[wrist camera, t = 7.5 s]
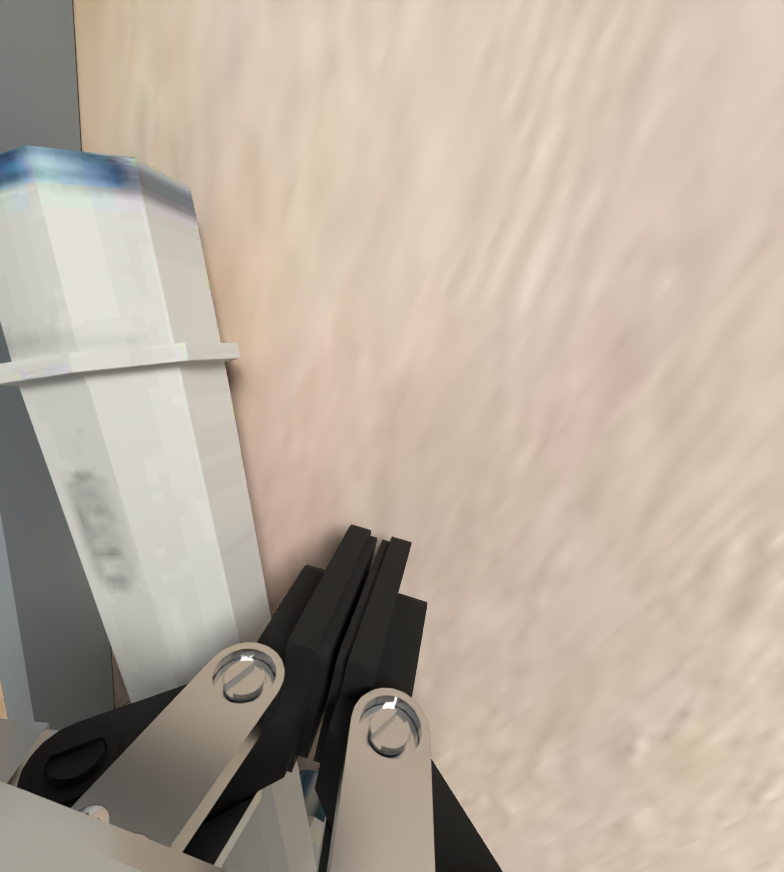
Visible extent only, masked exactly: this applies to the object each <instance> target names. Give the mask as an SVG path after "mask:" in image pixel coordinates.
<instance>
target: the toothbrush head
mask: <svg viewBox="0 0 784 872" xmlns="http://www.w3.org/2000/svg"><path fill="white" fill-rule="evenodd" d="M0 322H1V326H2V329H3V333H4V336H5V340H6V343H7V347H8V350H9V354H10V357H11V361H12V362H7V363H2V364H0V386H10V387H16V386H19V388H20V391H21V394H22V396H23V399H24V402H25V405H26V408H27V410H28V413H29V416H30V419H31V422H32V425H33V427H34V430H35V433H36V436H37V439H38V441H39V444H40V447H41V450H42V453H43V456H44V458H45V461H46V464H47V467H48V470H49V472H50V475H51V478H52V481H53V484H54V487H55V489H56V492H57V495H58V498H59V501H60V503H61V506H62V509H63V512H64V515H65V518H66V520H67V523H68V526H69V529H70V532H71V534H72V537H73V540H74V543H75V546H76V549H77V551H78V554H79V557H80V560H81V563H82V565H83V568H84V571H85V574H86V577H87V580H88V582H89V585H90V588H91V591H92V594H93V596H94V599H95V602H96V605H97V608H98V611H99V613H100V616H101V619H102V622H103V625H104V627H105V630H106V633H107V636H108V639H109V642H110V644H111V647H112V650H113V653H114V656H115V658H116V661H117V664H118V667H119V670H120V673H121V675H122V678H123V681H124V684H125V687H126V689H127V692H128V695H129V698H130V701H131V703H134V702H137V701H139V700H142V699H145V698H148V697H151V696H154V695H157V694H160V693H162V692H165V691H168V690H171V689H174V688H177V687H180V686H183V685H186V684H188V683H190V682H191V680H192V679H193V678H194V677H195V676H196V675H197V674H198V673H199V672H200V671H201V670H202V669H203V668H204V667H205V666H206V665H207V664H208V663H209V661H210V660H211V659H212V658H213V657H214V656H216V655H217V654H218V653H219V652H221V651H222V650H223V649H226V648H228V647H230V646H232V645H234V644H239V643H245V642H251V643H256V642H257V641H258V639H259V638H260V636H261V634H262V633H263V631H264V630H265V628H266V627H267V625H268V623H269V622H270V620H271V614H270V609H269V603H268V598H267V592H266V587H265V581H264V576H263V570H262V565H261V559H260V554H259V548H258V543H257V537H256V532H255V526H254V521H253V515H252V510H251V504H250V499H249V493H248V488H247V482H246V477H245V471H244V466H243V460H242V455H241V449H240V444H239V438H238V433H237V427H236V422H235V416H234V411H233V405H232V400H231V394H230V389H229V383H228V378H227V372H226V367H225V363H226V362H229V361H232V360H235V359H239V358H240V353H239V347H238V343H221V341H220V336H219V331H218V326H217V321H216V316H215V310H214V305H213V300H212V295H211V290H210V285H209V280H208V275H207V270H206V265H205V260H204V255H203V250H202V245H201V240H200V235H199V230H198V224H197V219H196V214H195V209H194V204H193V199H192V194H191V189H190V187H188V186H186V185H184V184H182V183H181V182H179V181H177V180H175V179H173V178H171V177H169V176H168V175H166V174H164V173H162V172H160V171H158V170H157V169H155V168H153V167H151V166H149V165H147V164H145V163H144V162H142V161H140V160H138V159H136V158H134V157H125V156H117V155H108V154H99V153H90V152H82V151H73V150H64V149H55V148H47V147H38V146H29V145H25V146H22V147H19V148H16V149H13V150H10V151H6V152H3V153H0ZM317 776H318V771H310V770H302V771H300V772H299V769H298V763H297V761H296V763H295V766H294V768H293V771H292V773H291V772H288V771H287V772H286V775H285V777H284V778H282V779H280V780H279V781H277V782H275V783H273V784H271V785H269V786H267V787H266V788H265V790H264V793H263V795H262V798H261V800H260V801H259V803H258V805H257V807H256V808H255V810H254V812H253V814H252V815H251V817H250V819H249V820H248V822H247V824H246V826H245V827H244V829H243V831H242V832H241V834H240V836H239V838H238V839H237V841H236V843H235V844H234V846H233V848H232V850H231V851H230V853H229V855H228V856H227V858H226V860H225V862H224V863H223V865H222V867H221V868H222V869H224V870H227V871H229V872H316V869H317V862H318V856H319V850H320V844H321V837H322V831H323V825H324V821H325V817H326V816H325V813H324V811H323V808H322V806H321V803H320V801H319V798H318V796H317V793H316V791H315V784H316V780H317Z"/></svg>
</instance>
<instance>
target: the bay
mask: <svg viewBox="0 0 784 872" xmlns="http://www.w3.org/2000/svg"><path fill="white" fill-rule="evenodd" d="M25 145H29V146H38V147H47V148H55V149H64V150H73V151H81V141H80V124H79V107H78V90H77V73H76V57H75V40H74V23H73V6H72V0H0V153H3V152H6V151H10V150H13V149H16V148H19V147H22V146H25ZM7 362H12V361H11V357H10V354H9V350H8V347H7V343H6V340H5V336H4V333H3V329H2V326H1V322H0V364H2V363H7ZM0 680H1V685H2V690H3V695H4V701H5V706H6V711H7V716H8V719H10V720H21V721H32V722H43V723H49V729H50V730H61V729H63V728H66V727H68V726H70V725H72V724H74V723H76V722H79V721H82V720H85V719H88V718H91V717H93V716H96V715H99V714H102V713H105V712H108V711H111V710H114V697H113V680H112V663H111V646H110V642H109V639H108V636H107V633H106V630H105V627H104V625H103V622H102V619H101V616H100V613H99V611H98V608H97V605H96V602H95V599H94V596H93V594H92V591H91V588H90V585H89V582H88V580H87V577H86V574H85V571H84V568H83V565H82V563H81V560H80V557H79V554H78V551H77V549H76V546H75V543H74V540H73V537H72V534H71V532H70V529H69V526H68V523H67V520H66V518H65V515H64V512H63V509H62V506H61V503H60V501H59V498H58V495H57V492H56V489H55V487H54V484H53V481H52V478H51V475H50V472H49V470H48V467H47V464H46V461H45V458H44V456H43V453H42V450H41V447H40V444H39V441H38V439H37V436H36V433H35V430H34V427H33V425H32V422H31V419H30V416H29V413H28V410H27V408H26V405H25V402H24V399H23V396H22V394H21V391H20V388H19V386H16V387H10V386H0Z"/></svg>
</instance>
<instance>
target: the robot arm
mask: <svg viewBox="0 0 784 872" xmlns="http://www.w3.org/2000/svg"><path fill="white" fill-rule="evenodd" d="M370 535H371V530H369V529H365V528H362V527H359V526H355V525H352V524H351V525H350V527H349V529H348V530H347V532H346V534H345V536H344V538H343V540H342V541H341V543H340V545H339V547H338V549H337V551H336V553H335V554H334V556H333V558H332V560H331V562H330V564H329V565H328V567H327V569H326V570H323V569H319V568H316V567H313V566H310V565H306V566H305V567H304V568H303V569H302V571H301V572H300V574H299V576H298V577H297V579H296V580H295V582H294V584H293V585H292V587H291V588H290V590H289V592H288V593H287V595H286V596H285V598H284V599H283V601H282V603H281V604H280V606H279V607H278V609H277V611H276V612H275V614H274V615H273V617H272V619H271V620H270V622H269V623H268V625H267V627H266V628H265V630H264V631H263V633H262V634H261V636H260V638H259V639H258V641H257V642H256V643H251V642H245V643H239V644H234V645H232V646H230V647H228V648H226V649H223V650H222V651H221V652H219V653H218V654H217V655H216V656H214V657H213V658H212V659H211V660H210V661H209V663H208V664H207V665H206V666H205V667H204V668H203V669H202V670H201V671H200V672H199V673H198V674H197V675H196V676H195V677H194V678H193V679H192V680H191V682H190V683H188V684H186V685H183V686H180V687H177V688H174V689H171V690H168V691H165V692H162V693H160V694H157V695H154V696H151V697H148V698H145V699H142V700H139V701H137V702H134V703H131V704H128V705H125V706H122V707H119V708H116V709H114V710H111V711H108V712H105V713H102V714H99V715H96V716H93V717H91V718H88V719H85V720H82V721H79V722H76V723H74V724H72V725H70V726H68V727H66V728H63V729H61V730H50V729H49V723H43V722H32V721H21V720H10V719H0V872H229V871H227V870H224V869H222V868H221V867H222V865H223V863H224V862H225V860H226V858H227V856H228V855H229V853H230V851H231V850H232V848H233V846H234V844H235V843H236V841H237V839H238V838H239V836H240V834H241V832H242V831H243V829H244V827H245V826H246V824H247V822H248V820H249V819H250V817H251V815H252V814H253V812H254V810H255V808H256V807H257V805H258V803H259V801H260V800H261V798H262V795H263V793H264V790H265V788H266V787H267V786H269V785H271V784H273V783H275V782H277V781H279V780H280V779H282V778H284V777H285V775H286V772H287V771H288V772H291V773H292V771H293V768H294V766H295V763H296V761H297V758H298V755H299V756H302V757H304V758H308V755H309V753H310V750H311V748H312V745H313V742H314V740H315V737H316V734H317V731H318V729H319V726H320V723H321V720H322V718H323V715H324V718H323V722H322V727H321V731H320V736H319V740H318V745H317V749H316V753H315V758H314V761H316V762H319V763H320V767H319V771H318V776H317V780H316V784H315V791H316V793H317V796H318V798H319V801H320V803H321V806H322V808H323V811H324V813H325V816H326V817H325V821H324V825H323V831H322V837H321V844H320V850H319V856H318V862H317V869H316V872H503V871H502V870H501V868H500V867H499V865H498V864H497V862H496V860H495V859H494V857H493V856H492V854H491V852H490V851H489V849H488V848H487V846H486V845H485V843H484V841H483V840H482V838H481V837H480V835H479V834H478V832H477V830H476V829H475V827H474V826H473V824H472V822H471V821H470V819H469V818H468V816H467V815H466V813H465V811H464V810H463V808H462V807H461V805H460V803H459V802H458V800H457V799H456V797H455V796H454V794H453V792H452V791H451V789H450V788H449V786H448V785H447V783H446V781H445V780H444V778H443V777H442V775H441V773H440V772H439V770H438V769H437V767H436V766H435V764H434V762H433V761H432V759H431V745H430V730H429V724H428V720H427V718H426V716H425V714H424V712H423V709H422V708H421V707H420V706H419V705H418V703H417V702H416V701H415V700H414V699H413V698H412V693H413V687H414V681H415V675H416V669H417V663H418V657H419V651H420V645H421V639H422V633H423V627H424V621H425V615H426V609H427V602H425V601H422V600H419V599H415V598H412V597H409V596H406V595H403V594H399V593H398V592H399V588H400V584H401V581H402V577H403V573H404V570H405V566H406V562H407V558H408V555H409V551H410V547H411V543H412V542H409V541H406V540H402V539H399V538H395V537H392V538H391V540H390V542H389V541H386V540H382V542H381V545H380V547H379V550H378V552H377V555H376V557H375V560H374V563H373V565H372V568H371V570H370V567H371V563H372V559H373V555H374V551H375V546H376V542H377V538H376V537H372V536H370ZM369 571H370V573H369ZM324 712H325V713H324Z"/></svg>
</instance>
